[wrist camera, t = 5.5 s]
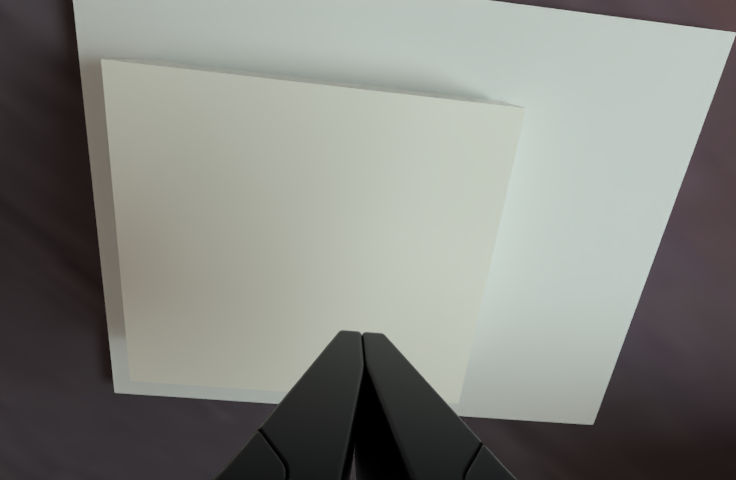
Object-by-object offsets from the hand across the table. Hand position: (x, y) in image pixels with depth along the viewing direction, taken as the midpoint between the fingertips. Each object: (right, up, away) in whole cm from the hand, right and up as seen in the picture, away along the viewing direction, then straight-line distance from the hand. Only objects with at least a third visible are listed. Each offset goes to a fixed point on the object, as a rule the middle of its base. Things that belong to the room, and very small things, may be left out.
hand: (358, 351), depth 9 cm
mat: (+1, +2, +7) cm, 7 cm away
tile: (+3, +2, +5) cm, 6 cm away
